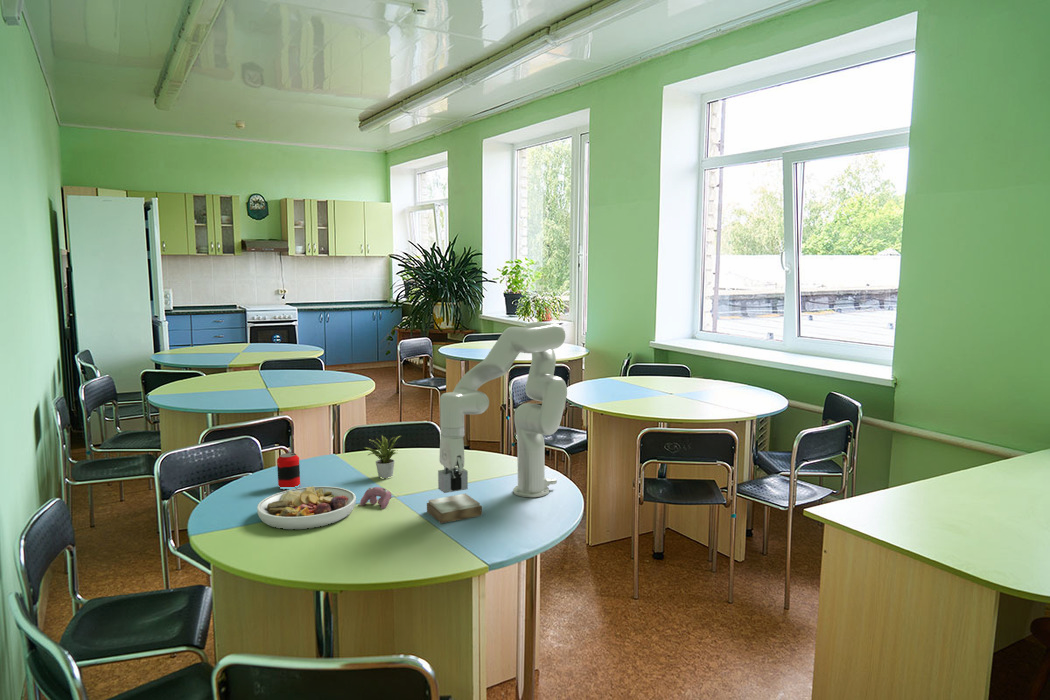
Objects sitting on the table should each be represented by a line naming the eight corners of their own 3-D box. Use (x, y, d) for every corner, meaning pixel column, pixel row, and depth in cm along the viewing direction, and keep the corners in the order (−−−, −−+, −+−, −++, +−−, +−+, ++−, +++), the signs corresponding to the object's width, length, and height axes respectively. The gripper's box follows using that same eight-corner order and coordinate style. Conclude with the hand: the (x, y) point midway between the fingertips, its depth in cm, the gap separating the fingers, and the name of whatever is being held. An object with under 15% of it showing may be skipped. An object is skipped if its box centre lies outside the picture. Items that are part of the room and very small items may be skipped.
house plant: (388, 468, 265) (387, 428, 263) (413, 474, 257) (412, 433, 255) (360, 477, 253) (358, 435, 252) (385, 484, 245) (384, 440, 243)
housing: (438, 488, 213) (438, 467, 212) (461, 485, 217) (461, 464, 216) (444, 493, 209) (444, 471, 208) (467, 489, 212) (467, 467, 212)
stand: (466, 504, 222) (466, 492, 222) (481, 515, 212) (481, 503, 211) (426, 511, 216) (426, 499, 215) (441, 523, 205) (440, 511, 205)
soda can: (302, 488, 241) (301, 455, 240) (281, 491, 237) (279, 459, 236) (297, 482, 248) (295, 451, 246) (276, 486, 243) (274, 454, 242)
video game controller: (390, 510, 221) (395, 489, 223) (382, 508, 217) (387, 487, 220) (365, 507, 225) (370, 486, 227) (358, 505, 221) (363, 484, 223)
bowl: (236, 526, 205) (235, 501, 204) (300, 496, 233) (299, 474, 232) (317, 538, 195) (316, 512, 194) (374, 505, 223) (373, 483, 222)
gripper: (431, 427, 216) (432, 482, 218) (452, 438, 202) (452, 496, 203) (452, 425, 220) (453, 479, 222) (474, 435, 205) (474, 493, 207)
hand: (452, 486), depth 213 cm, fingers closed on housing, 5 cm apart
